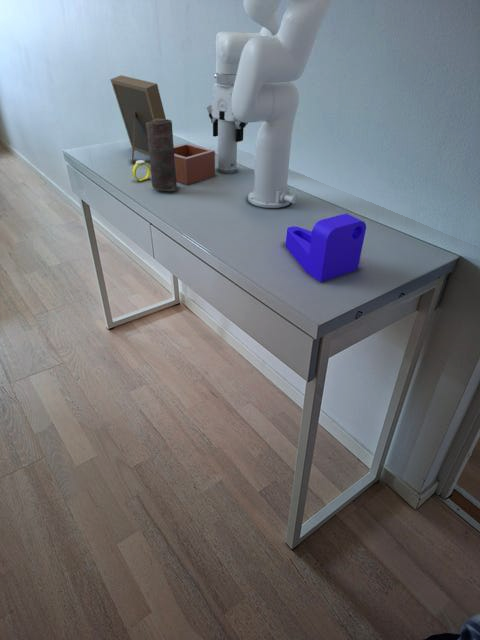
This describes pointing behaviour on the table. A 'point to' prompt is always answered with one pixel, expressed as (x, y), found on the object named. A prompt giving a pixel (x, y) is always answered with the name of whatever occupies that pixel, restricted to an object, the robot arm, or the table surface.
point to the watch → (139, 162)
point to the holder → (193, 163)
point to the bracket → (328, 246)
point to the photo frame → (138, 108)
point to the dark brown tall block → (161, 154)
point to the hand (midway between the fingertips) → (227, 138)
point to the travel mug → (226, 145)
